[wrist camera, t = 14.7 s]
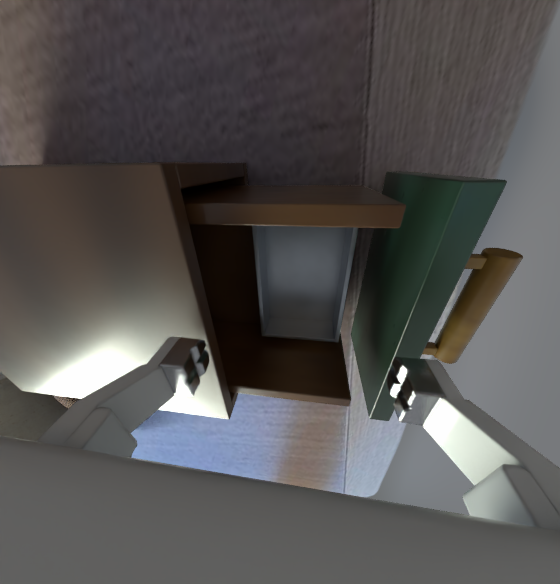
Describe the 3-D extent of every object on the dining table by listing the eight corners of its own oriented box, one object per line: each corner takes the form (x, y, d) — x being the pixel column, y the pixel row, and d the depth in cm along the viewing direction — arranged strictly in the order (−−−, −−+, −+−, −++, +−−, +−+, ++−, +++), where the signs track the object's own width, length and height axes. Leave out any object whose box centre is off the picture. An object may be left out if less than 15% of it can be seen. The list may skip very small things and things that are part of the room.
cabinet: (246, 162, 14) (160, 162, 6) (260, 325, 22) (229, 420, 14) (41, 166, 16) (-226, 169, 8) (119, 314, 24) (21, 390, 16)
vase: (-266, 420, 20) (-78, 584, 28) (-320, 477, 12) (-25, 694, 19) (38, 321, 40) (102, 434, 47) (103, 315, 31) (169, 454, 38)
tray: (352, 213, 13) (359, 221, 11) (335, 322, 18) (338, 342, 16) (260, 212, 14) (251, 220, 12) (267, 317, 19) (261, 336, 17)
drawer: (482, 170, 12) (682, 179, 6) (409, 338, 19) (460, 430, 13) (170, 174, 14) (52, 183, 8) (208, 322, 22) (162, 392, 15)
